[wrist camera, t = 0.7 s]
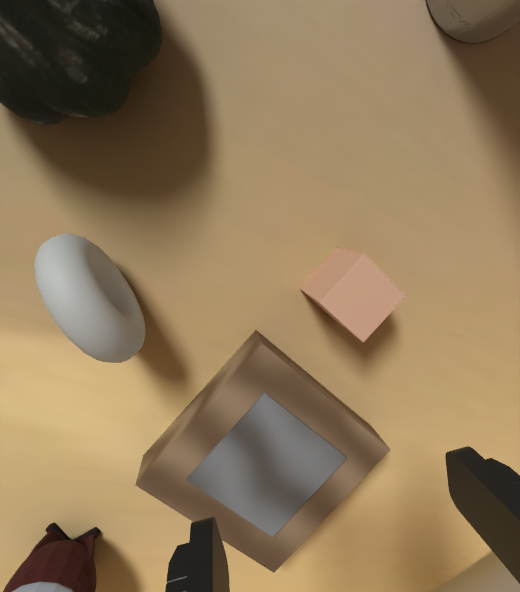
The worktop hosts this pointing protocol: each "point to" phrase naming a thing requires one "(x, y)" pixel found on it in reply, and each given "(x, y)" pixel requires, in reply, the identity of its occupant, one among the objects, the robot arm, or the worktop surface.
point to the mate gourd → (58, 564)
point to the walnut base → (261, 454)
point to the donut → (89, 298)
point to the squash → (73, 55)
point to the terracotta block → (353, 292)
